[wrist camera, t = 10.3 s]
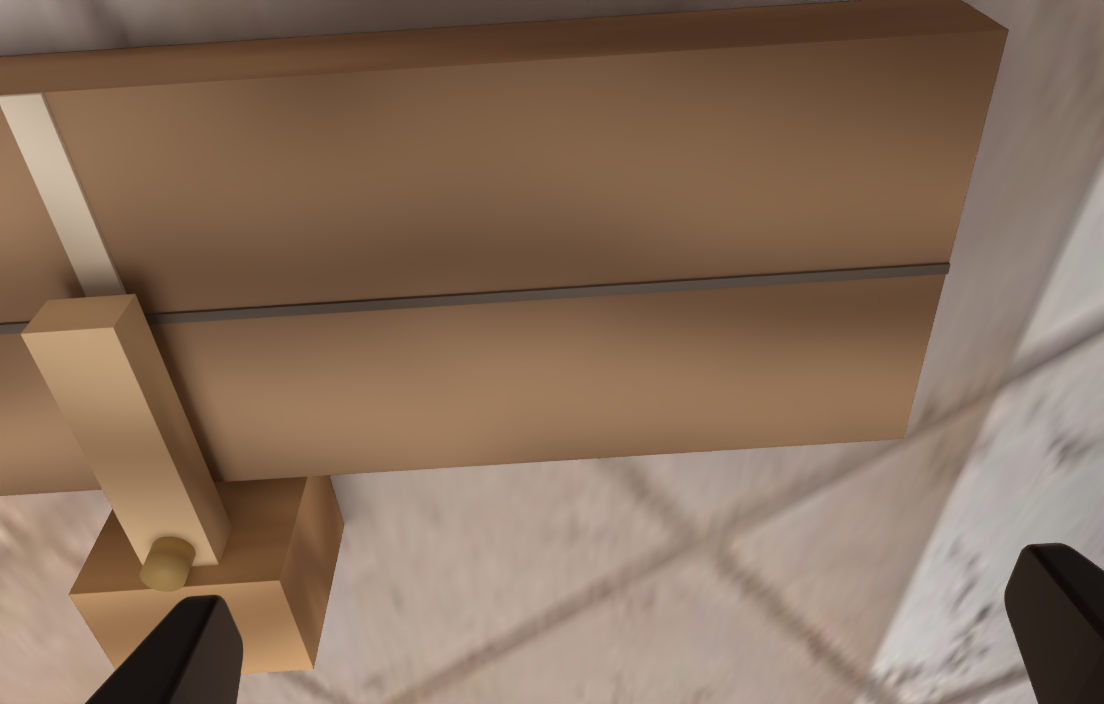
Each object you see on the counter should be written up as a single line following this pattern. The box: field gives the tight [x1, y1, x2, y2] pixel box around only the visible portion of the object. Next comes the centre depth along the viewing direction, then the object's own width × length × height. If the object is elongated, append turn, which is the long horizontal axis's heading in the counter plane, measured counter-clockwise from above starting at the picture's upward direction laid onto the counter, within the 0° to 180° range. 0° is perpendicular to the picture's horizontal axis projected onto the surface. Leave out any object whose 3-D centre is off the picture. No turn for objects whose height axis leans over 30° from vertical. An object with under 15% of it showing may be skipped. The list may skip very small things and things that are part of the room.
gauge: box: [21, 294, 344, 674], centre depth 21 cm, size 11×5×5 cm, turn 3°
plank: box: [0, 0, 1009, 496], centre depth 19 cm, size 10×26×3 cm, turn 93°
